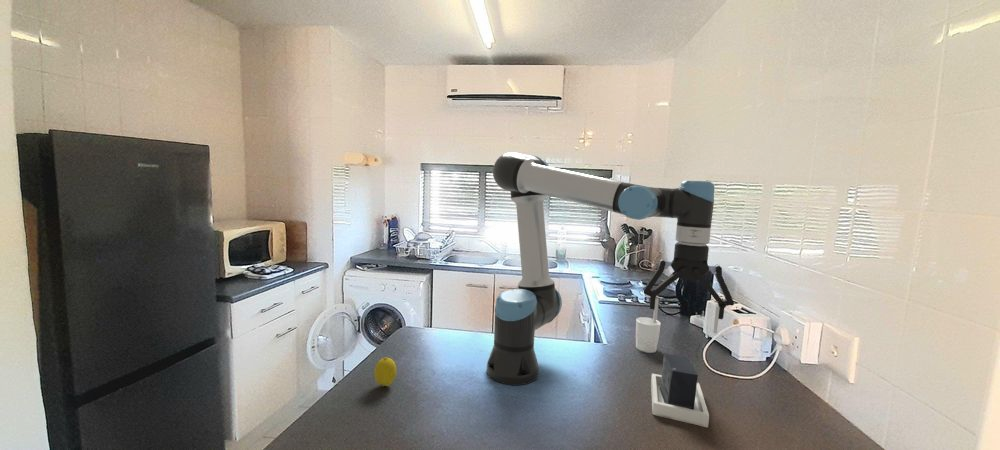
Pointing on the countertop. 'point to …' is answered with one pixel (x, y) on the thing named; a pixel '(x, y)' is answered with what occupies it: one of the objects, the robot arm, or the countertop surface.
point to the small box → (678, 381)
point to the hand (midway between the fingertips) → (683, 326)
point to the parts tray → (675, 412)
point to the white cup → (647, 334)
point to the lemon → (385, 371)
